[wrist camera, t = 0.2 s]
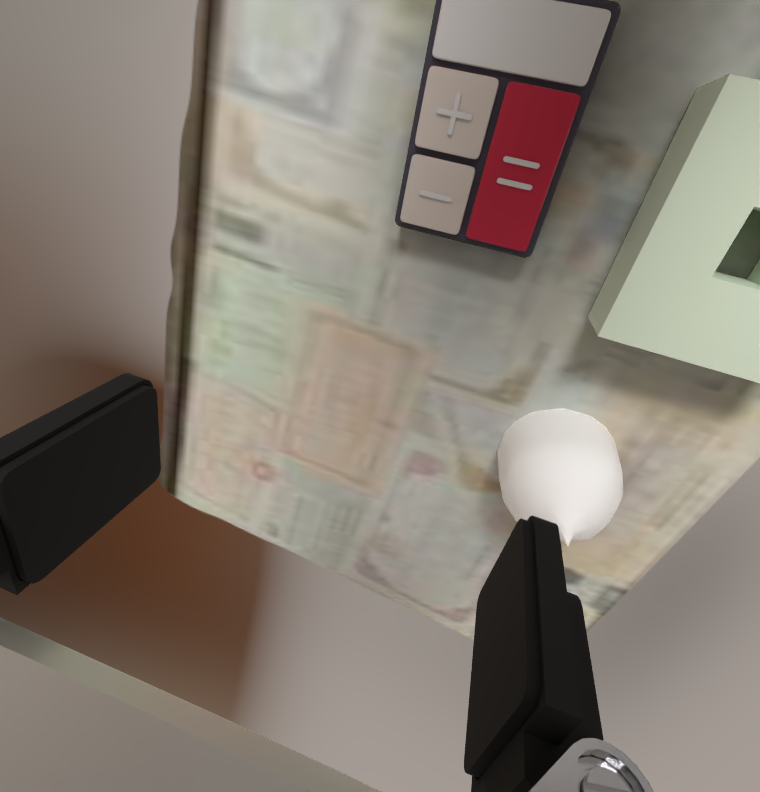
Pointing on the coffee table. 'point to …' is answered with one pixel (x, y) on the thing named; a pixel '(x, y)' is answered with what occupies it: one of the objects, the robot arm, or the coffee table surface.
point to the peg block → (694, 242)
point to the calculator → (499, 116)
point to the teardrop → (561, 472)
